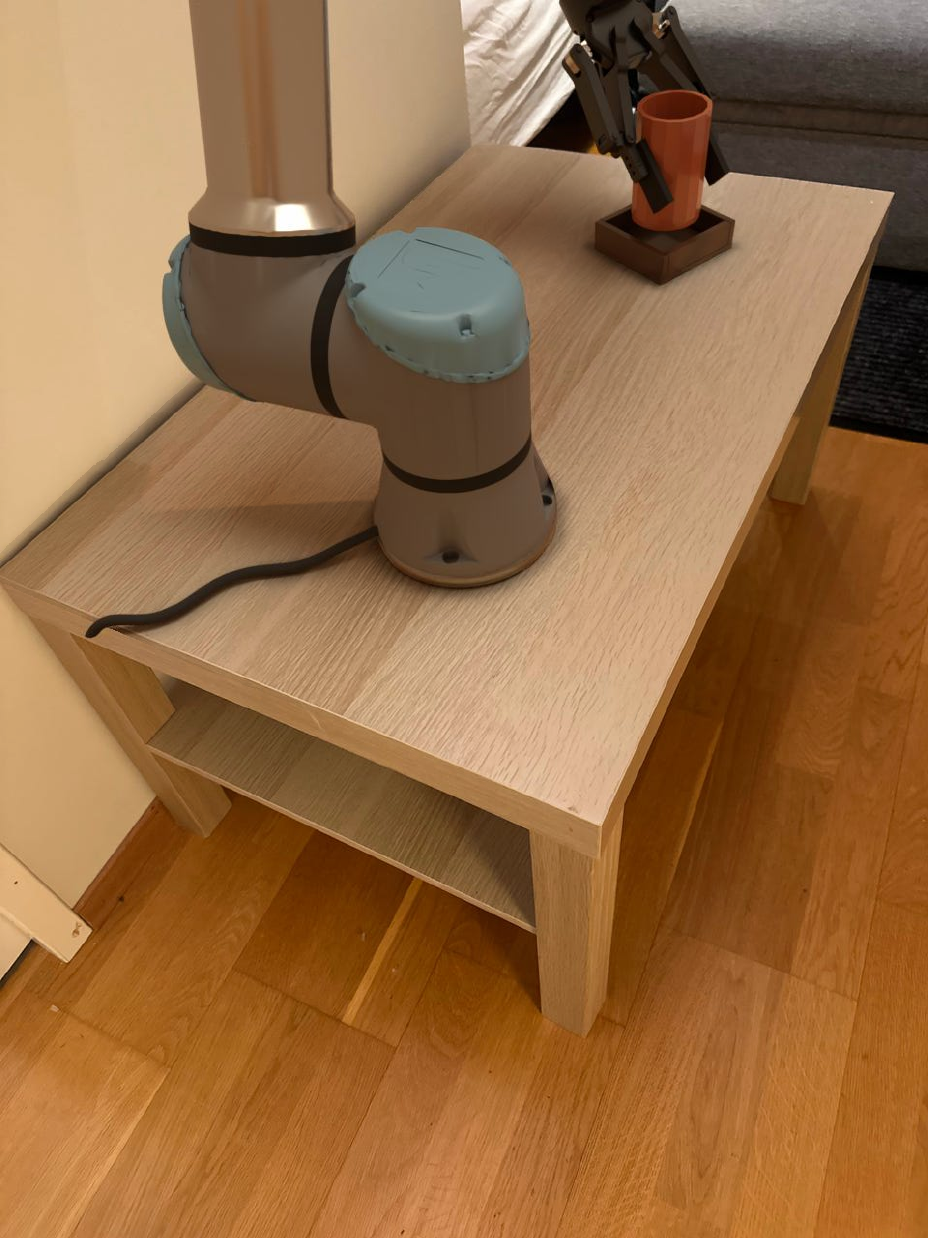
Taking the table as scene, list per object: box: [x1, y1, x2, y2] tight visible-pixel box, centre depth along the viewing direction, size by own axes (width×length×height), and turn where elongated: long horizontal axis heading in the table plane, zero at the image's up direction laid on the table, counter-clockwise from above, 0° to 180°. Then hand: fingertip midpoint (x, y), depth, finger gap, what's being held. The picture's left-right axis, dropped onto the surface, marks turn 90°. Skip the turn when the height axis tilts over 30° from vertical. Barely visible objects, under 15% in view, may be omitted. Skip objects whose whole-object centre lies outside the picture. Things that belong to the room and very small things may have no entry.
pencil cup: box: [631, 90, 713, 231], centre depth 92 cm, size 7×7×11 cm
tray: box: [593, 203, 736, 285], centre depth 98 cm, size 11×11×3 cm
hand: (692, 192), depth 92 cm, fingers closed on pencil cup, 7 cm apart
